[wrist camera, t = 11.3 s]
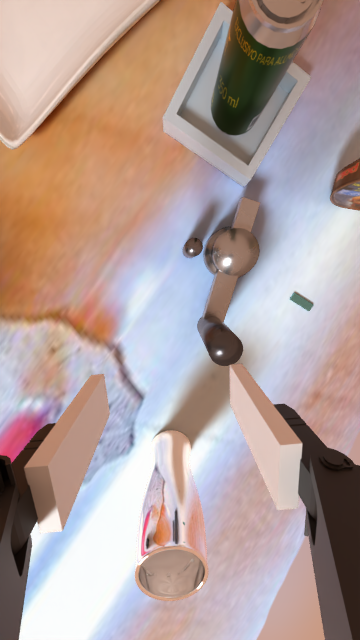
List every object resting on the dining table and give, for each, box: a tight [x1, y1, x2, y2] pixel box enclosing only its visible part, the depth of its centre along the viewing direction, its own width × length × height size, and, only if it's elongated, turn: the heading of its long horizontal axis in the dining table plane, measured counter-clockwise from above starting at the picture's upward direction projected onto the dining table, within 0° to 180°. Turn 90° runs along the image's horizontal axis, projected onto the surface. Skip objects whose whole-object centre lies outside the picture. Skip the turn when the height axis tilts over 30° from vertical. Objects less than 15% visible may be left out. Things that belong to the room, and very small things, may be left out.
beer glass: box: [135, 430, 208, 601], centre depth 28 cm, size 7×7×15 cm
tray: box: [163, 2, 311, 187], centre depth 25 cm, size 11×11×2 cm
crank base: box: [183, 227, 313, 311], centre depth 27 cm, size 19×6×5 cm, turn 59°
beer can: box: [211, 0, 323, 136], centre depth 19 cm, size 5×5×12 cm
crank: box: [197, 197, 260, 366], centre depth 23 cm, size 16×5×9 cm, turn 164°
